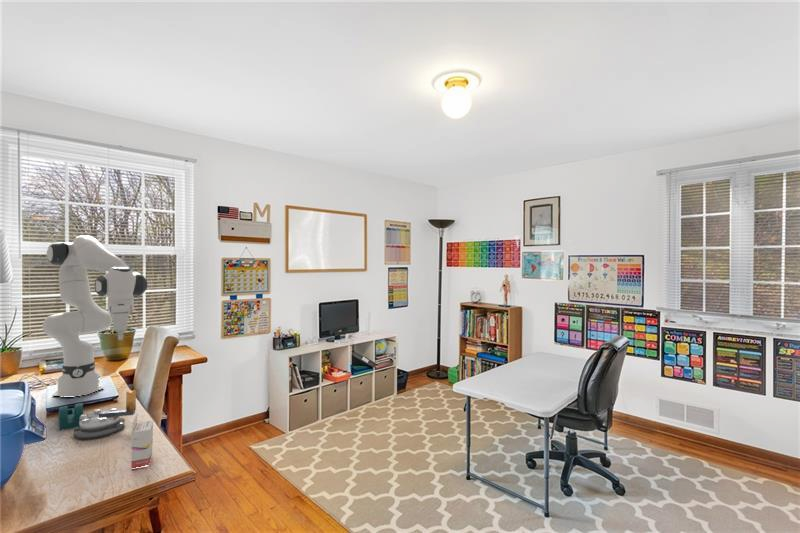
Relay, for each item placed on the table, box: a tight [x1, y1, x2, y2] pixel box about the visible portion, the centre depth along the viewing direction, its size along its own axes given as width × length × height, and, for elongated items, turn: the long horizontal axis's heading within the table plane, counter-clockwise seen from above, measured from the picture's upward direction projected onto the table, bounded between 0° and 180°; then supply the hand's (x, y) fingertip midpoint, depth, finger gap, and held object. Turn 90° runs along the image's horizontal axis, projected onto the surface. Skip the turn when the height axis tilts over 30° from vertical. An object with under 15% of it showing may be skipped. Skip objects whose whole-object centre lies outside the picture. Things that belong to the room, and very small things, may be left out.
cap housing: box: [73, 417, 126, 441], centre depth 144 cm, size 15×15×2 cm
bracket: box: [57, 402, 84, 431], centre depth 152 cm, size 18×7×8 cm, turn 43°
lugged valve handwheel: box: [79, 389, 137, 432], centre depth 144 cm, size 18×12×12 cm
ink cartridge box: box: [130, 413, 154, 468], centre depth 122 cm, size 9×5×15 cm, turn 27°
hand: (120, 339), depth 159 cm, fingers closed
